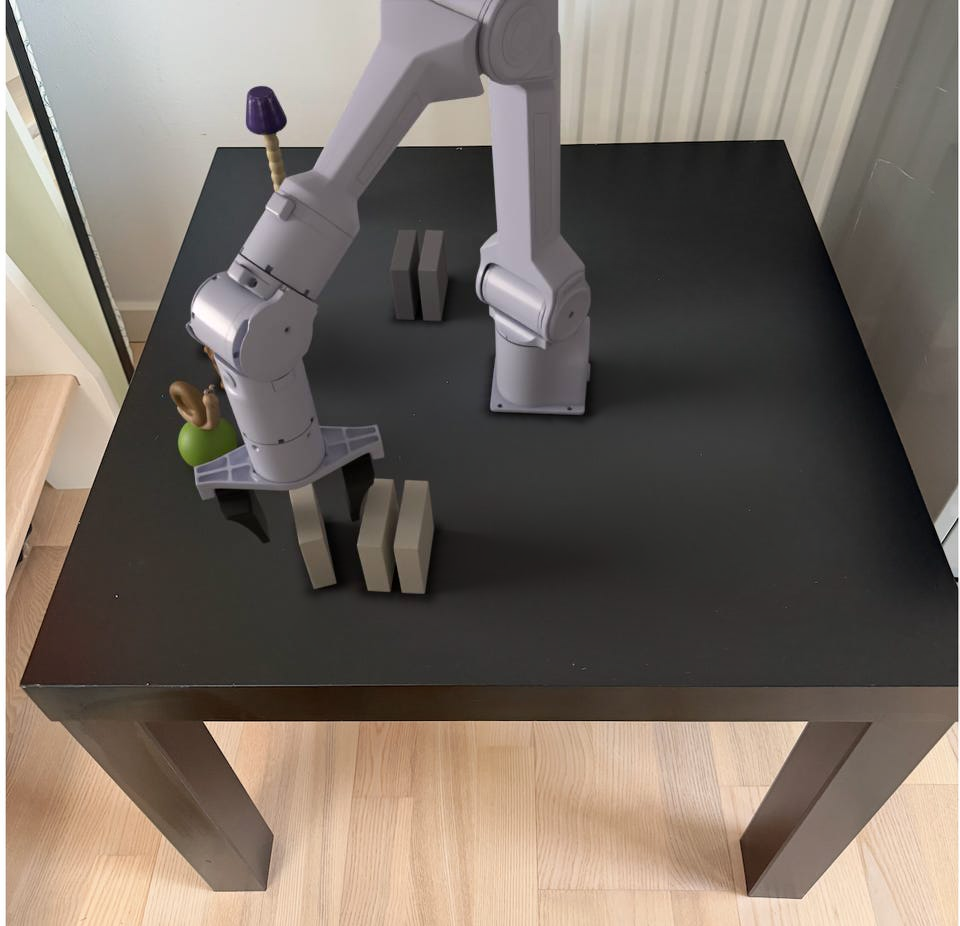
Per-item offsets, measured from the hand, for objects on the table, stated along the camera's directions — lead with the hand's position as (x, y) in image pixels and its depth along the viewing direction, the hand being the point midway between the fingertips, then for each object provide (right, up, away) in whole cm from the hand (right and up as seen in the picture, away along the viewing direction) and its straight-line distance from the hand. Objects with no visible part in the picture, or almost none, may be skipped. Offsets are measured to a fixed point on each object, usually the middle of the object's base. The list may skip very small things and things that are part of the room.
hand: (309, 522), depth 78 cm
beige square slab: (0, -3, +4) cm, 5 cm away
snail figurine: (-11, +5, +11) cm, 16 cm away
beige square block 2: (+9, -3, +3) cm, 10 cm away
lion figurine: (-12, +16, +20) cm, 28 cm away
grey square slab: (+7, +24, +26) cm, 35 cm away
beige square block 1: (+6, -3, +3) cm, 8 cm away
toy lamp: (-10, +36, +36) cm, 52 cm away
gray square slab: (+10, +24, +25) cm, 36 cm away
